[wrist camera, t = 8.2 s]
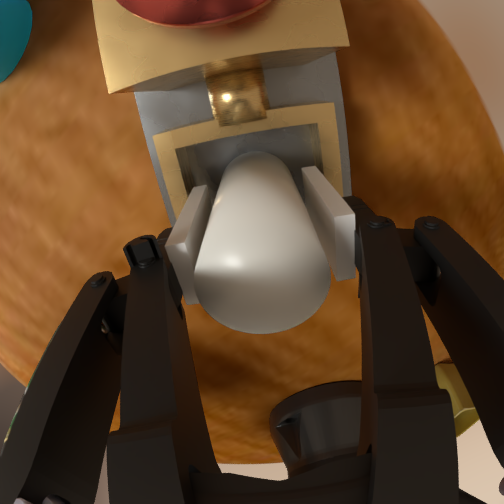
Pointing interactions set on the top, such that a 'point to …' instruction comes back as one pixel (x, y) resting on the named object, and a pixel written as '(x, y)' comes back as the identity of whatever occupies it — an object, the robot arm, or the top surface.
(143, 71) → the red push button box
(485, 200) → the top surface
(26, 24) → the mug
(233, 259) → the white rounded cylinder
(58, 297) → the top surface
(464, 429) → the flower pot
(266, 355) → the top surface
